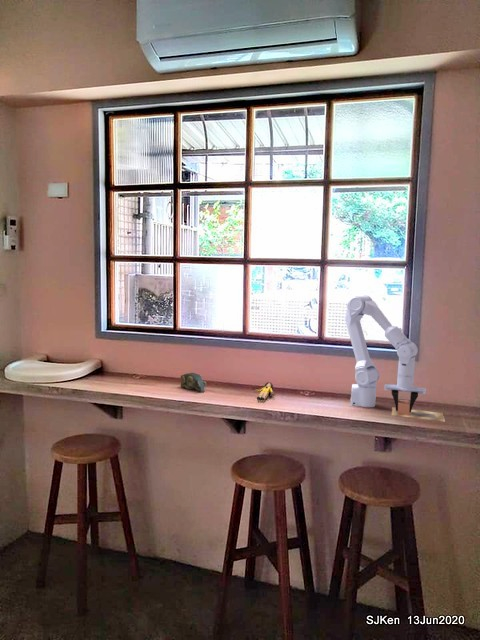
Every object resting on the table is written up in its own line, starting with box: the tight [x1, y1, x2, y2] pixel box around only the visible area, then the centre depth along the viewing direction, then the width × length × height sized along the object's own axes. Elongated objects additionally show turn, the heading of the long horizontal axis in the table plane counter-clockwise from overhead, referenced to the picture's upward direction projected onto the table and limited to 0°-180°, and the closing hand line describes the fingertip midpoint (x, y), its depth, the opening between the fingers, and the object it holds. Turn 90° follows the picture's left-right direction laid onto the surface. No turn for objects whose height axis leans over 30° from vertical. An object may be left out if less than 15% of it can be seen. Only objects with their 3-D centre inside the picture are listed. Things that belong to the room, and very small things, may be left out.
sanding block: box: [398, 398, 410, 415], centre depth 175 cm, size 4×6×4 cm, turn 161°
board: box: [391, 406, 446, 423], centre depth 173 cm, size 18×11×1 cm, turn 71°
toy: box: [255, 381, 274, 403], centre depth 195 cm, size 8×4×15 cm
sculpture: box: [180, 372, 207, 393], centre depth 204 cm, size 13×6×7 cm, turn 41°
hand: (403, 410), depth 175 cm, fingers closed on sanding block, 4 cm apart
